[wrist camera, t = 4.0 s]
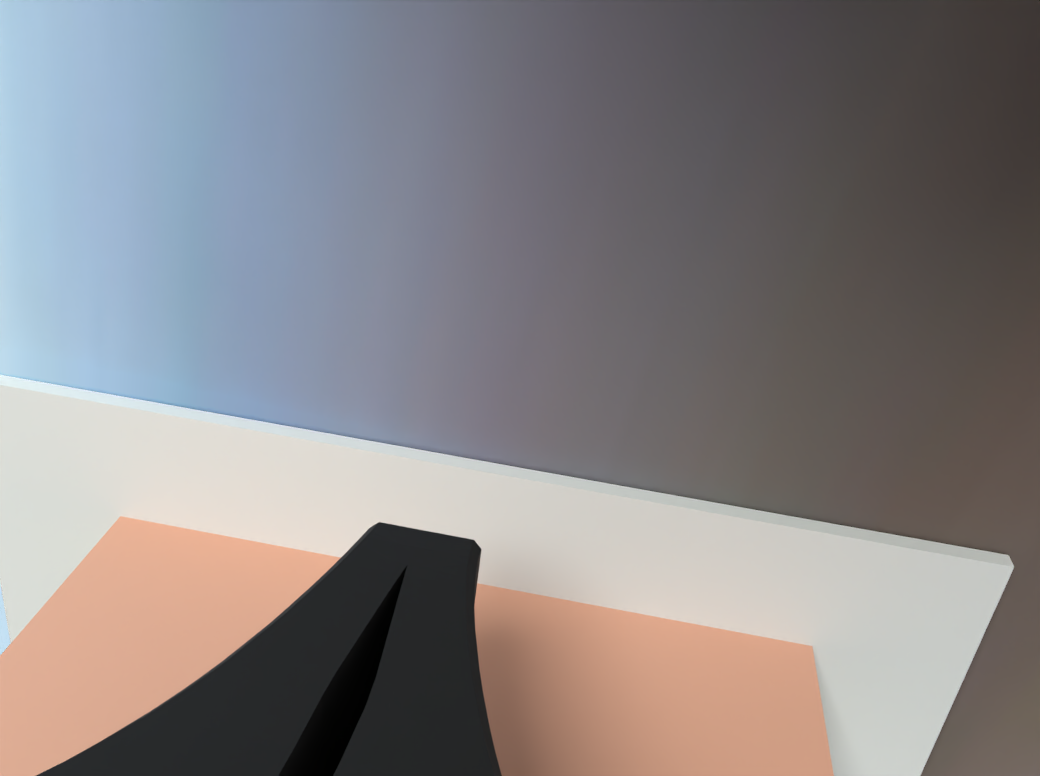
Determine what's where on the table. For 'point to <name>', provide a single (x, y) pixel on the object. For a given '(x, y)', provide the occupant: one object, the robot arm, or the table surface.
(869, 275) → the table surface
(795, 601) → the rubber mat
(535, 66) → the table surface
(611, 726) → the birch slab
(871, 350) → the table surface
